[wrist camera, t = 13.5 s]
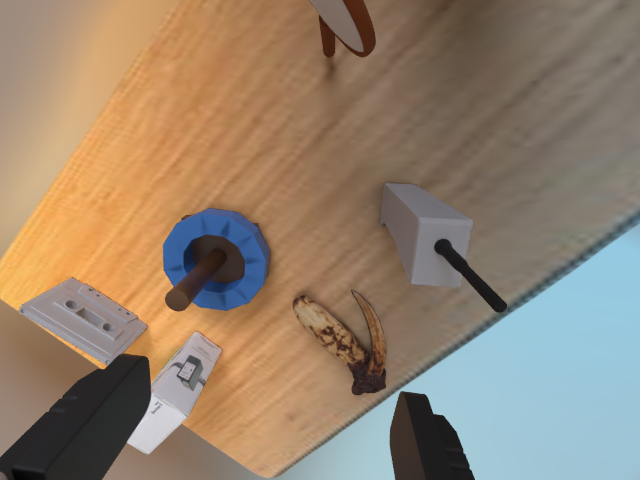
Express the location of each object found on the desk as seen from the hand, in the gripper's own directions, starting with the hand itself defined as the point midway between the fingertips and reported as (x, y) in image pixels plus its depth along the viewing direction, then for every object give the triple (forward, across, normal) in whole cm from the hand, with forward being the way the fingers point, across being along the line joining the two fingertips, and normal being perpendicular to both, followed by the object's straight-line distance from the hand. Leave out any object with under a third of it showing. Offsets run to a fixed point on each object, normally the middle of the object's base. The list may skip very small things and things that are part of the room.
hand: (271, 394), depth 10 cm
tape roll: (+28, +11, +9) cm, 32 cm away
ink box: (+30, +16, +26) cm, 42 cm away
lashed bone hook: (+30, -6, +18) cm, 35 cm away
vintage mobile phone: (+30, -9, 0) cm, 32 cm away
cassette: (+30, +27, +19) cm, 44 cm away
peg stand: (+30, +12, +9) cm, 33 cm away
